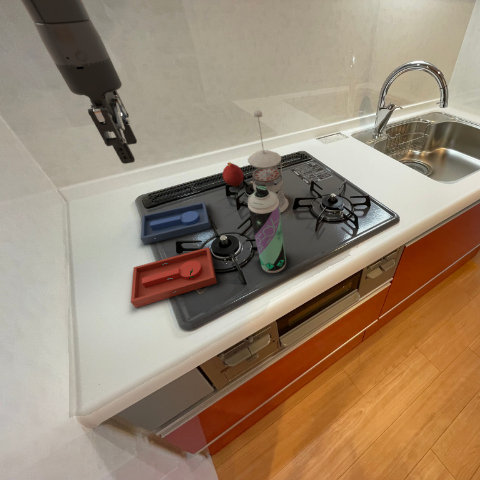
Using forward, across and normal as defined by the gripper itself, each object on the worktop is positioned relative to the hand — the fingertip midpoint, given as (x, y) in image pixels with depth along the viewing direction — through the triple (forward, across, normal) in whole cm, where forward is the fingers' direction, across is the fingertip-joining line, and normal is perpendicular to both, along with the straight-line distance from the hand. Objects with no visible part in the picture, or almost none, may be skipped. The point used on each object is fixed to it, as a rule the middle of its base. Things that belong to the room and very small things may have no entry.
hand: (130, 152), depth 54 cm
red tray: (+20, +18, +1) cm, 27 cm away
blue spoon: (+20, 0, +2) cm, 20 cm away
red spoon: (+20, +18, +1) cm, 27 cm away
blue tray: (+20, 0, +2) cm, 20 cm away
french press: (+20, 0, +27) cm, 34 cm away
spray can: (+20, +22, +21) cm, 37 cm away
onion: (+20, -12, +19) cm, 30 cm away
